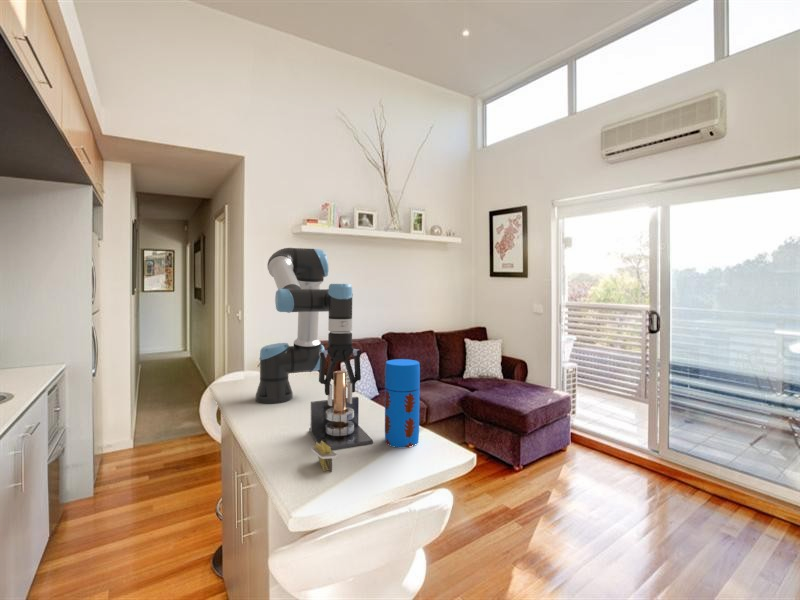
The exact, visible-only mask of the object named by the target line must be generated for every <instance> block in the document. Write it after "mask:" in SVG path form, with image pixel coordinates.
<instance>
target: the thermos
mask: <svg viewBox="0 0 800 600" xmlns="http://www.w3.org/2000/svg"><path fill="white" fill-rule="evenodd" d="M420 365H421V364H420V362H419V360H415V359H414V360H413V359H408V358H407V359H406V358H401V359H399V358H397V359H390V360H386V362H385V368H384V369H385V371H384V372H385V373H384V375H385V376H384V378H385V379H384V382H385V383H384V385H385V386H384V440H385V444H386V443H387V444H386V445H388V444H389V445H391V446H390V447H392V446H395V447H394V448H397V447H408V448H410V447H409V446H412V445H415V444H417V443H418V444H419V440H420V439H419V438H420V394H421V393H420V390H421V389H420V387H421V386H420V383H421V381H420V380H421V379H420V377H421V367H420ZM418 444H417V445H418ZM389 445H388V446H389ZM415 446H416V445H415Z"/></svg>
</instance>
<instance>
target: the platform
mask: <svg viewBox="0 0 800 600" xmlns="http://www.w3.org/2000/svg"><path fill="white" fill-rule="evenodd" d="M311 451H312V452H313V453H314V454H315V455H316V456H318V462H320V466H321V469H322V471H323V472H326V471H330V472H331V473H332V472H333V459H335V458H338V454H337V453H336V452H335V451H333V450H331V448H330V447H329V446H328V445H327V444H325V443H324V442H323V441H321V443H317V442H316V441H315V444H314V445H313V446H312V447H311Z"/></svg>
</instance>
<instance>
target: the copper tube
mask: <svg viewBox="0 0 800 600" xmlns="http://www.w3.org/2000/svg"><path fill="white" fill-rule="evenodd" d="M332 380H333V385H332V399H333V413H336V414H341V413H346V398H347V371H345V370H336V371H335V370H334V372H333V375H332ZM333 427H335V428H342V427H346V421H342V422H335V421H333Z"/></svg>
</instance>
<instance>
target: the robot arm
mask: <svg viewBox="0 0 800 600" xmlns="http://www.w3.org/2000/svg"><path fill="white" fill-rule="evenodd" d="M267 271H268V273H269V275H270V276H271V277H272V278H273V279H274V282H275V285H276V288H277V289H276V291H275V298H274V302H275V309H276V311H277V312H278V313H279V312H280V313H288V314H290V313H297V315H298V316H297V338H296V339H295V340H294V341H293V345H289V343H288V342H278V343H273V344H269V345H264V346H263V347H261V349H260V350H259V351H260V352H259V384H258V386H257V389H256V393H255V401H256V402H257V401H258V402H257V403H260V402H262V403H261V404H279V402H280V403H285V402H288V401H290V400H292V399H293V398H294V397H293V396H294V395H293V393H294V392H293V389H292V386H291V384H290V381H289V374H296V373H312V372H317V371H319V372H318V383H320V384H321V385H324V394H325V396H327V400H328V405H329V406H332V399H333V385H332V384H331V381H332V380H333V372H335V368H336V366H337V364H338V362H343V363H344V366H345V369H346V373H347V376H348V378H349V379H348V380H349V381H347V393H346V398H347V402H348V403H350V404H352V397H353V394H354V393H355V392H356V383H357V382H358V381H361V379H362V377H361V375H362V374H361V354H362V350H360V349H358V348H357V349H356V348H354V347H353V333H352V331H353V295H354V293H353V286H352V284H350V283H330V284H329V285H328V288H327V289H321V287H320V285H322V283H323V282H324V278H326V277H328V275H329V262H328V257H327V254H326V252H325V251H324V250H323V249H320V248H319V249H318V248H306V247H305V248H303V247H302V248H300V247H285V248H281V249H279V250H276V251H274V252H273V254H271V256H270V257H269V259H268V261H267ZM319 312H321V313H323V312H328V325H327V326H328V329H327V330H328V331H329V332H328V337H327V338H328V339H327V341H328V343H327V344H328V345H327V348H326V349H325V346H324V345H323V344H322V343H321V340H320V339H319V337H318V334H319V332H318V331H319ZM352 354H353V364H354V367H352V365H351V359H350V357H351V355H352ZM327 356H329V357H330V361H329V366H328V368H327V371H326V358H327ZM353 368H354V370H353ZM353 371H354V372H353ZM326 372H327V373H326ZM325 374H326V375H325Z"/></svg>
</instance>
